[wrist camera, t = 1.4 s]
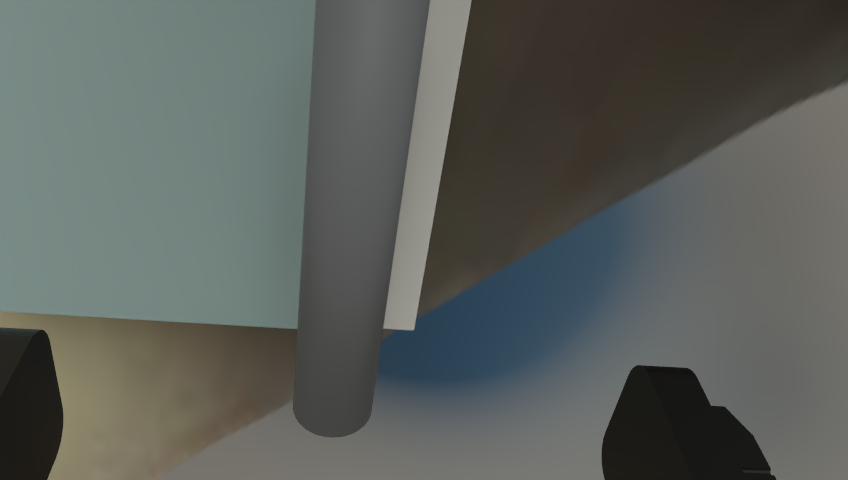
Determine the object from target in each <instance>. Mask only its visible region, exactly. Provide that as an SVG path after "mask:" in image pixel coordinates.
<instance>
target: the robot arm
mask: <svg viewBox="0 0 848 480" xmlns="http://www.w3.org/2000/svg"><path fill="white" fill-rule="evenodd" d="M62 430H63V408H62V402H61V397H60V392H59V387H58V381H57V376H56V371H55V366H54V361H53V356H52V351H51V345H50V341H49V337H48V335H47V333H46V332H45V331H44V330H34V329H16V328H0V480H47V479H48V476H49V474H50V471H51V469H52V466H53V464H54V461H55V459H56V456H57V453H58V450H59V446H60V442H61V437H62ZM602 468H603V474H604V478H605V480H776V478H775V476H773V475H771V474H770V470H771V469H770V466H769V465H768V463H767V461H766V459H765V457H764V455H763V453H762V451H761V449H760V448H759V446H758V444H757V442H756V440H755V439H754V436H753V435H752V434H751V433H750V432H749V431H748V430H747V429H746V428H745V427H744V426H743V425H742V424H741V423H740V422H739V421H738V420H737V419H736V418H735V417H734V416H733V415H732V414H731V413H730V412H729V411H728V410H727V409H726V408H725V407H721V406H720V407H719V406H711V405H710V403H709V401H708V399H707V397H706V395H705V393H704V391H703V389H702V387H701V385H700V383H699V381H698V379H697V377H696V375H695V374H694V373H693V371H691V370H690V369H688V368H677V367H676V368H675V367H659V366H641V365H638V366H635V367H634V368H633V369H632V370H631V372H630V374H629V376H628V378H627V380H626V383H625V386H624V388H623V391H622V393H621V395H620V398H619V400H618V403H617V405H616V408H615V410H614V413H613V415H612V418H611V420H610V422H609V425H608V428H607V430H606V432H605V435H604V439H603V445H602Z"/></svg>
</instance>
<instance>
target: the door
mask: <svg viewBox="0 0 848 480" xmlns="http://www.w3.org/2000/svg"><path fill="white" fill-rule="evenodd" d="M429 5H430V0H0V311H2V312H19V313H36V314H52V315H69V316H86V317H103V318H119V319H136V320H153V321H170V322H187V323H203V324H220V325H237V326H254V327H270V328H287V329H297V345H296V363H295V381H294V399H293V410H294V414H295V417H296V419H297V420H298V422H299V423H300V424H301V425H302V426H303V427H304V428H305V429H307V430H308V431H310V432H312V433H314V434H317V435H320V436H325V437H342V436H347V435H350V434H352V433H354V432H356V431H358V430H359V429H360V428H362V427H363V426H364V425H365V424H366V423H367V421H368V420H369V417H370V415H371V410H372V403H373V396H374V389H375V382H376V375H377V368H378V361H379V354H380V347H381V340H382V333H383V326H384V319H385V312H386V305H387V298H388V291H389V284H390V277H391V270H392V264H393V257H394V250H395V243H396V236H397V229H398V222H399V215H400V208H401V201H402V194H403V187H404V180H405V173H406V166H407V159H408V152H409V145H410V138H411V131H412V124H413V117H414V110H415V103H416V96H417V89H418V82H419V75H420V68H421V61H422V54H423V47H424V40H425V33H426V26H427V19H428V12H429Z"/></svg>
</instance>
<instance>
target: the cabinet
mask: <svg viewBox="0 0 848 480" xmlns="http://www.w3.org/2000/svg"><path fill="white" fill-rule="evenodd" d="M471 1H472V0H430V5H429V12H428V19H427V26H426V33H425V40H424V47H423V54H422V61H421V68H420V75H419V82H418V89H417V96H416V103H415V110H414V117H413V124H412V131H411V138H410V145H409V152H408V159H407V166H406V173H405V180H404V187H403V194H402V201H401V208H400V215H399V222H398V229H397V236H396V243H395V250H394V257H393V264H392V270H391V277H390V284H389V291H388V298H387V305H386V312H385V319H384V326H383V329H399V330H414V327H415V321H416V315H417V310H418V304H419V298H420V292H421V287H422V281H423V275H424V270H425V264H426V258H427V252H428V247H429V241H430V235H431V230H432V224H433V218H434V212H435V207H436V201H437V195H438V190H439V184H440V178H441V172H442V167H443V161H444V155H445V150H446V144H447V138H448V132H449V127H450V121H451V115H452V110H453V104H454V98H455V92H456V87H457V81H458V75H459V69H460V64H461V58H462V52H463V47H464V41H465V35H466V29H467V24H468V18H469V12H470V7H471Z"/></svg>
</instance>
